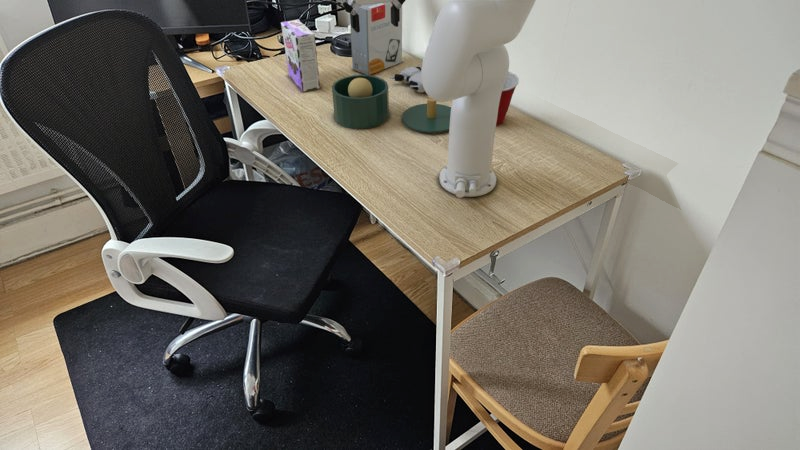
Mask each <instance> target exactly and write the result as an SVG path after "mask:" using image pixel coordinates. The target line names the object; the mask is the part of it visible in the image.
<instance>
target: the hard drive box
mask: <svg viewBox="0 0 800 450" xmlns="http://www.w3.org/2000/svg"><path fill="white" fill-rule="evenodd" d="M391 6H392V3H391V2H386V3H378V4H370V5H361V7H360V8H359V10H358V12H357V14H358V15H359V25H360V32H358V33H357V32H356V31H355V30H354V29H353V28H352V27H351V20H350V19H349V22H350V24H349V25H350V40H351V41H350V43H351V44H350V45H351V62H352V70H354V71H356V72H359V73H361V74H362V75H371V76H372V75H373V74H378V73H379V72H381V71H384V70H387V69H389V68H391V67H394V66H397V65H398V64H402V61H403V6H402V7H401V8H400V21H399V22H398V27H395V26H394V25H393V24H391Z"/></svg>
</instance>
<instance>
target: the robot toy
mask: <svg viewBox="0 0 800 450" xmlns="http://www.w3.org/2000/svg"><path fill="white" fill-rule="evenodd" d="M421 68H422V67H420V66H410V67H406V68H403V69H401V70H400V73H395V74H392V75H390V76H389V79H390V80H394V81H395V82H402V81H403V82H404V84H408V87H409V88H410V89H412V90H414V91H416V92H418V93H419V94H421V93H422V94H423V93H426V92H425V90H424V88H423V85H422V80H421Z"/></svg>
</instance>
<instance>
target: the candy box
mask: <svg viewBox="0 0 800 450" xmlns="http://www.w3.org/2000/svg"><path fill="white" fill-rule="evenodd" d="M280 27H281V33H282V40H283V46H284V53H285V59H286V66H287V73H288V76H289V78H290V79H291V80H292V81H293V82H294V83H295V85H296V86H297V87H298V88H299V90H301V92H309V91H315V90H319V89H321V83H320V74H319V65H318V54H317V44H316V43H317V42H316V33H315V32H313V31H312V30H310V28H308V27H307V26H306V25H305V24H304V23H303V22H302V21H301V20H300V19H299V18H297V19H292V20H287V21H281V22H280Z"/></svg>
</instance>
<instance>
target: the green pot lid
mask: <svg viewBox="0 0 800 450" xmlns="http://www.w3.org/2000/svg"><path fill="white" fill-rule="evenodd" d="M437 102H438V101H435V100H433V99H432V98H430V97H428V98H427V99H426V103H421V104H420V103H419V104H416V105H413V106H410V107H408V108H407V109H405V110H404V111H403V112H402V114H401V121H402V122H403V124H404V125H405V126H406V127H407V128H409V129H411V130H414V131H416V132H420V133H427V134H429V133H430V134H436V133H444V132H449V127H450V113H451V106H449V105H445V104H441V103H437Z"/></svg>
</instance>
